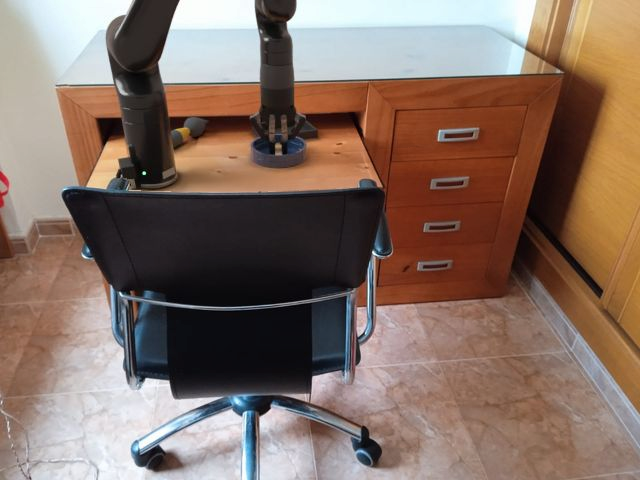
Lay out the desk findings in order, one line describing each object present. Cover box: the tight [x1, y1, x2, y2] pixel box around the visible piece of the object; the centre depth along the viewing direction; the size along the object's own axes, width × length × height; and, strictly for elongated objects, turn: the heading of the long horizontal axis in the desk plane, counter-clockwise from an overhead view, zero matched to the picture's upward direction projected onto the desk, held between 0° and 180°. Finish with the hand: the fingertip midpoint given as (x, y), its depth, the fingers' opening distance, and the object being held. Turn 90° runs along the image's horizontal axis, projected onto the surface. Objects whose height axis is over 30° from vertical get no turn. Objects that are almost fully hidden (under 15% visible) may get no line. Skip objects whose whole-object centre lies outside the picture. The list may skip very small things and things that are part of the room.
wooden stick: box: [275, 143, 282, 155], centre depth 127 cm, size 10×2×2 cm, turn 5°
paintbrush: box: [171, 116, 210, 149], centre depth 133 cm, size 20×5×5 cm, turn 155°
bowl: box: [249, 134, 308, 169], centre depth 127 cm, size 13×13×4 cm
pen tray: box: [251, 117, 319, 141], centre depth 139 cm, size 14×10×2 cm
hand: (278, 155), depth 128 cm, fingers closed on wooden stick, 1 cm apart
